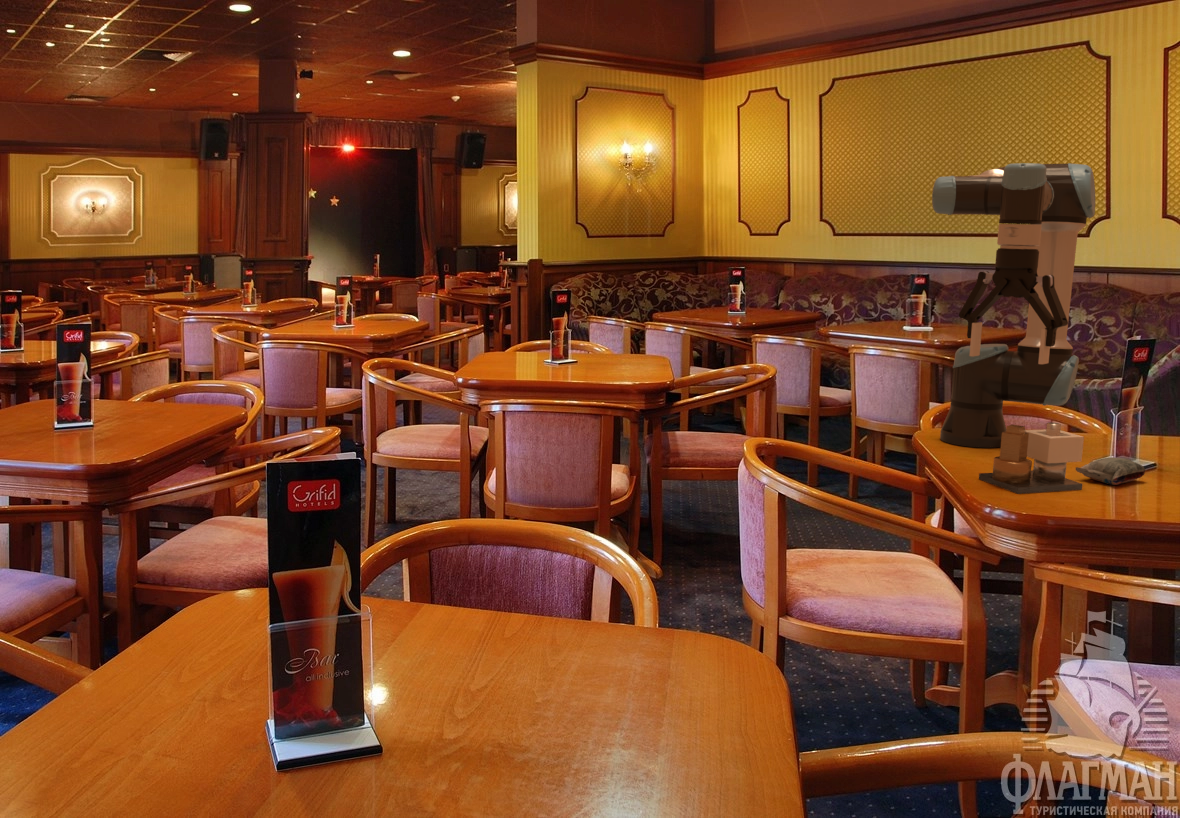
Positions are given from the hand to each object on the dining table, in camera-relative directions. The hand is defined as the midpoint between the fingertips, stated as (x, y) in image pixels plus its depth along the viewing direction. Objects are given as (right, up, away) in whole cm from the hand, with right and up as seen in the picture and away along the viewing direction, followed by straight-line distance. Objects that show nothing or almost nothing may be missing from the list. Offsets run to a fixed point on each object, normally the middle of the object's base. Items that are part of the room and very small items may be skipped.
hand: (1008, 359), depth 207 cm
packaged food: (+26, -24, +14) cm, 38 cm away
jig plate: (+8, -24, +9) cm, 27 cm away
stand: (+12, -23, +10) cm, 28 cm away
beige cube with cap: (+12, -19, +10) cm, 25 cm away
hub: (+4, -23, +8) cm, 25 cm away
